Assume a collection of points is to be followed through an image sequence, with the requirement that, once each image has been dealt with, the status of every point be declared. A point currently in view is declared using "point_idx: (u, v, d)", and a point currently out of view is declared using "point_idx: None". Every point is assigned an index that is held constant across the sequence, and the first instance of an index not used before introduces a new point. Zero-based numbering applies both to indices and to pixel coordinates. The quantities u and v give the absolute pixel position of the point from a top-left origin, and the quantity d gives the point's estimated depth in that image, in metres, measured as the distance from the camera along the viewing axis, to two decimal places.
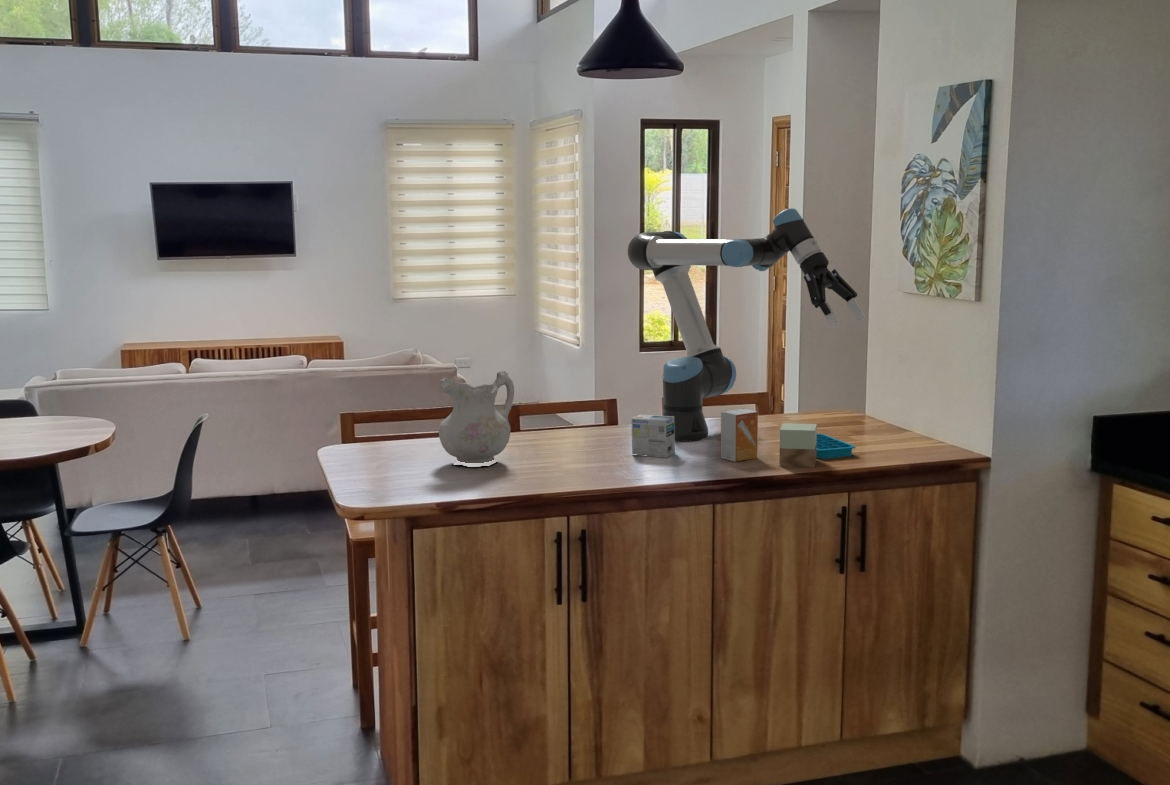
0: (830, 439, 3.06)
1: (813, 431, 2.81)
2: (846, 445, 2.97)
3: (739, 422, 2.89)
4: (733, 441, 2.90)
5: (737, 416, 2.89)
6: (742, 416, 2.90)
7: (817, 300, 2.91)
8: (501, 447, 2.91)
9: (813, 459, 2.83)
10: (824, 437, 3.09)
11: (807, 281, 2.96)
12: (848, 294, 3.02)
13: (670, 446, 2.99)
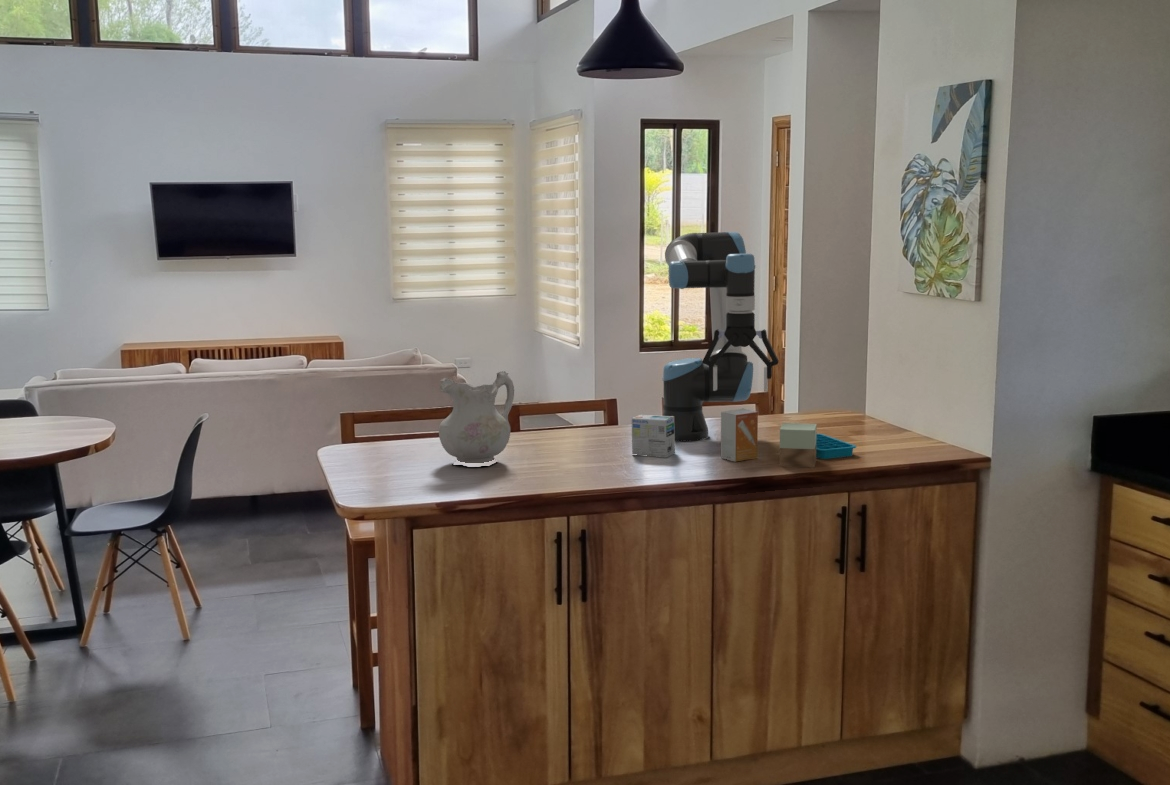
0: (829, 439, 3.06)
1: (813, 431, 2.81)
2: (846, 445, 2.98)
3: (739, 422, 2.89)
4: (733, 441, 2.90)
5: (737, 416, 2.89)
6: (742, 416, 2.90)
7: (703, 362, 2.93)
8: (501, 447, 2.91)
9: (813, 459, 2.83)
10: (823, 437, 3.09)
11: None
12: (763, 361, 2.89)
13: (670, 446, 2.99)
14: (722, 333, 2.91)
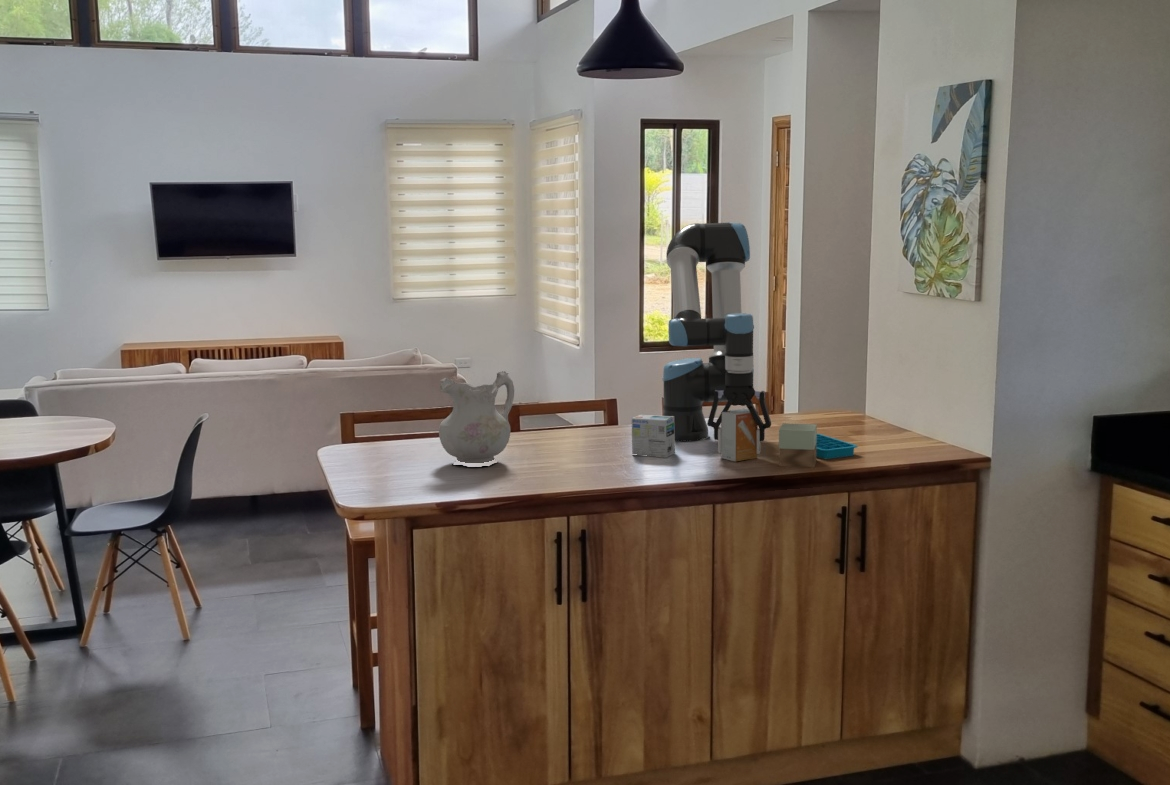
0: (828, 439, 3.06)
1: (812, 431, 2.81)
2: (847, 444, 2.98)
3: (739, 421, 2.89)
4: (733, 441, 2.90)
5: (737, 416, 2.89)
6: (742, 416, 2.90)
7: None
8: (501, 447, 2.91)
9: (813, 459, 2.83)
10: (821, 437, 3.09)
11: None
12: None
13: (670, 446, 2.99)
14: (721, 393, 2.93)
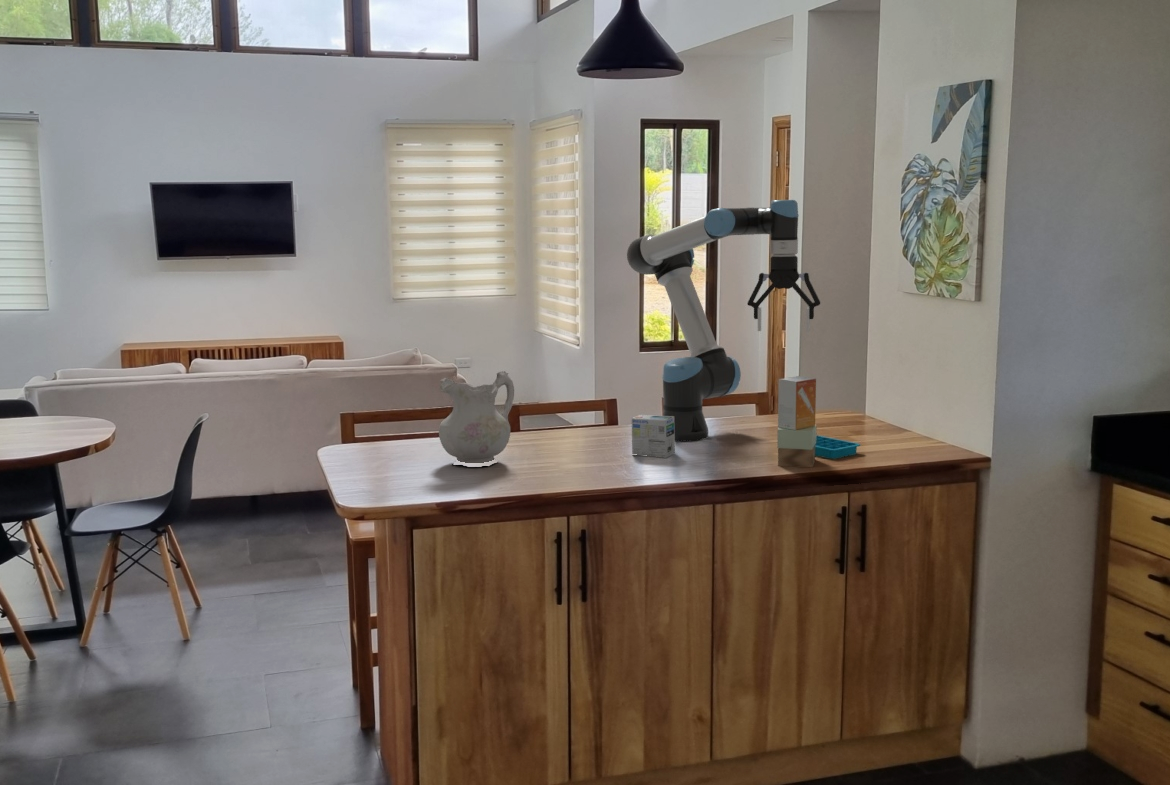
0: (824, 438, 3.07)
1: (810, 431, 2.82)
2: (848, 443, 3.00)
3: (799, 389, 2.81)
4: (792, 409, 2.82)
5: (797, 383, 2.81)
6: (801, 383, 2.82)
7: (748, 304, 3.08)
8: (501, 447, 2.91)
9: (811, 459, 2.83)
10: None
11: None
12: (806, 302, 3.04)
13: (670, 446, 2.99)
14: (766, 276, 3.06)
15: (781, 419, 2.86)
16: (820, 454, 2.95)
